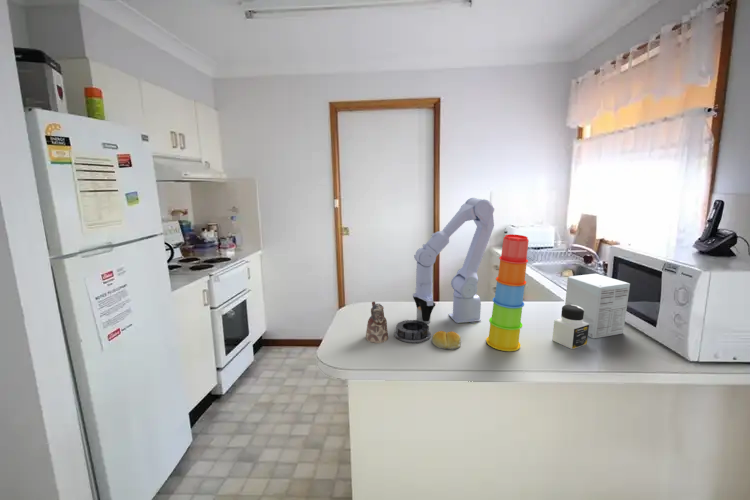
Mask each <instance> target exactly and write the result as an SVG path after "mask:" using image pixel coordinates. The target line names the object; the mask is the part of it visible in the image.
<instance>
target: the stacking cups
mask: <svg viewBox="0 0 750 500" xmlns="http://www.w3.org/2000/svg"><path fill="white" fill-rule="evenodd" d="M528 249H529V238H528V236H525V235H521V234H510V233H509V234H506V235H505V236H504V237H503V240H502V249H501V255H500V256H499V257H498V259H499V267H498V273H497V277H496V278H495V282H496V287H495V294H494V297H493V298H492V302H493V305H492V312H491V317H490V318H489V319H488V321H489V324H490V326H489V331H488V336H487V337H486V338H485V341H486V343H487V344H488V346H490V347H491V348H493V349H495V350H499V351H502V352H516V351H518V350H519V349H521V346H522V345H521V343H520V333H521V329H522V328H523V323H522V321H521V320H522V315H523V314H522V312H523V307H525V302H524V294H525V286H526V285H527V281H526V273H527V265H528V264H527V263H529V260H528Z"/></svg>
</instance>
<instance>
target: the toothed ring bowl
mask: <svg viewBox="0 0 750 500" xmlns="http://www.w3.org/2000/svg"><path fill="white" fill-rule="evenodd" d="M395 328H396V329H395V330H394V334H393V335H394V337H395V338H396V340H398V341H400V342H404V343H407V344H419V343H424V342H427V341H428V340H430V339H431V331H430V326H429V324H426V323H424V322H422V321H417V319H406V320H402V321H399V322H398V323H397V324H396V326H395Z"/></svg>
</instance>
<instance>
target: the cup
mask: <svg viewBox="0 0 750 500" xmlns="http://www.w3.org/2000/svg"><path fill="white" fill-rule="evenodd" d="M431 318H432V317H431V316H430V319H429V321H423V319H422V312H421V308H420V306H419V307H416V320H417V321H422V322H424V323H426V324H427V325H429V324H430V323H431Z"/></svg>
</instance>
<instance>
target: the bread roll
mask: <svg viewBox="0 0 750 500" xmlns="http://www.w3.org/2000/svg"><path fill="white" fill-rule="evenodd" d="M461 339H462V336H460V335H459V334H458V333H457V332H455V331H447V332H446V331H444V330H439V331H436V332H435V333H434V334H433V335H432V338H431V342H432V344H433V346H435V347H437V348H440V349H448V350H456V349H459V348H460V347H461V343H462V341H461Z"/></svg>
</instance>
